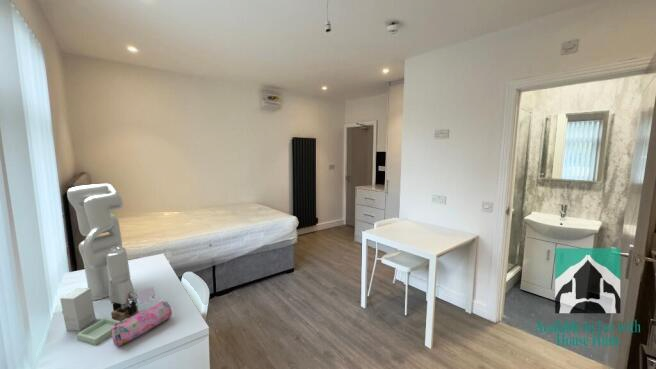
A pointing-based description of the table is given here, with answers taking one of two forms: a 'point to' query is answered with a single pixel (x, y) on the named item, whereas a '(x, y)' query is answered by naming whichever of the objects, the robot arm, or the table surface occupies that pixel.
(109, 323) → the tray
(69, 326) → the skincare box
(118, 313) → the brown square frame
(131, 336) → the pencil case
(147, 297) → the mobile phone
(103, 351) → the table surface
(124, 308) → the grey stamp
